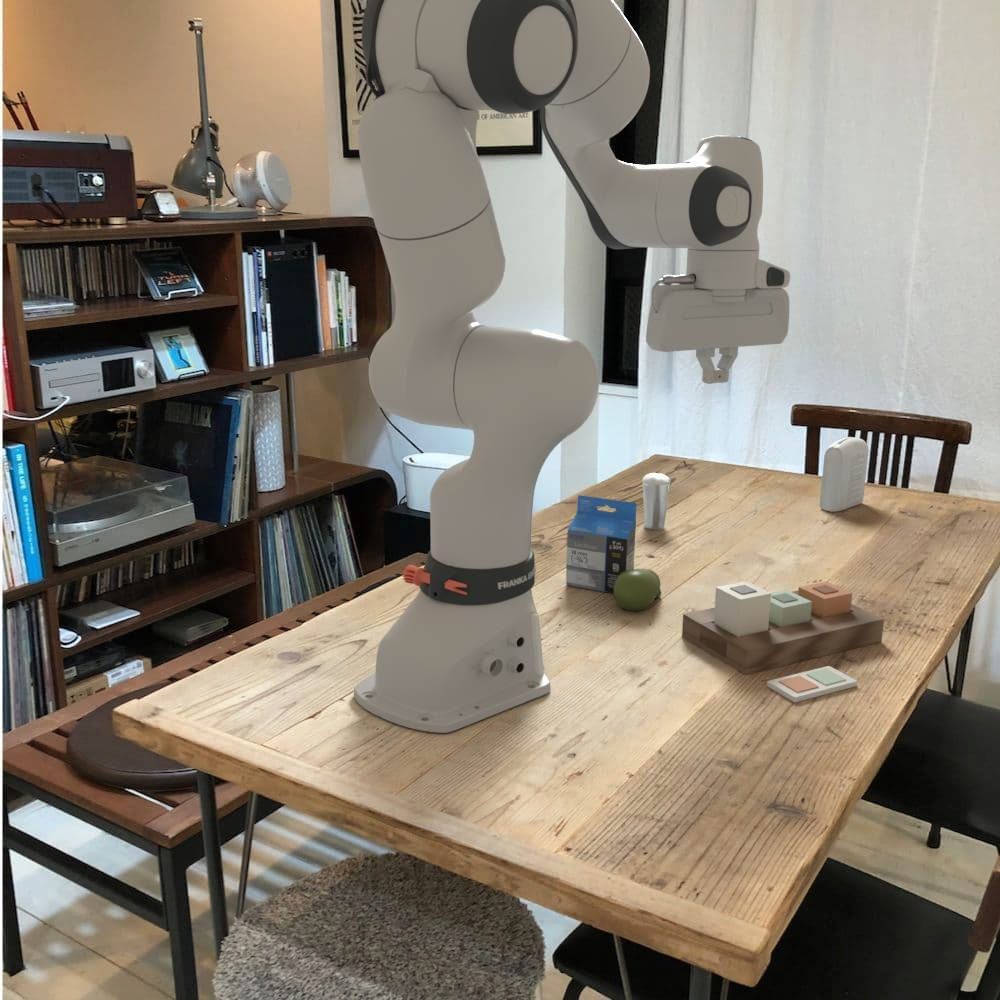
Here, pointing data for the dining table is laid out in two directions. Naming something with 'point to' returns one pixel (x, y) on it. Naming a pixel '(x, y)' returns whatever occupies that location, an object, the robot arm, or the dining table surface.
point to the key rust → (826, 599)
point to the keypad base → (783, 639)
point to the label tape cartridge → (600, 543)
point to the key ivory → (742, 608)
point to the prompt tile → (811, 683)
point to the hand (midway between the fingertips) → (715, 382)
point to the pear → (636, 588)
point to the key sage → (789, 608)
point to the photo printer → (844, 474)
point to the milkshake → (655, 500)
